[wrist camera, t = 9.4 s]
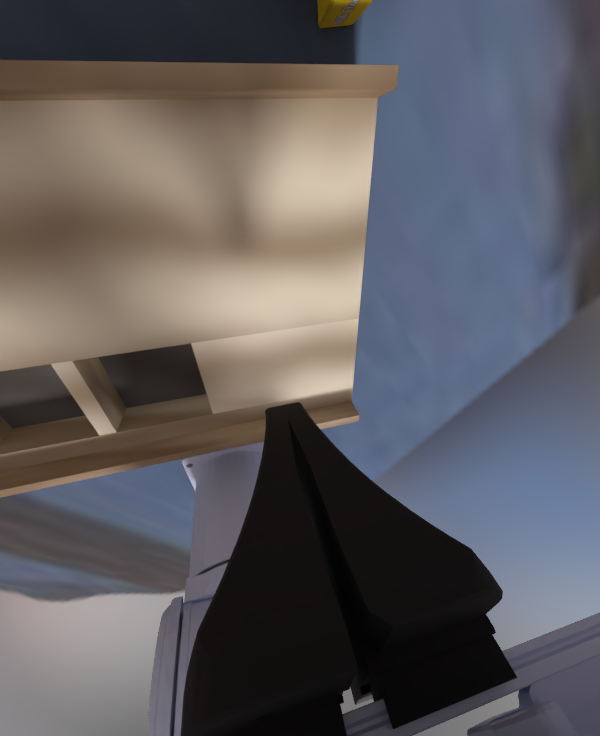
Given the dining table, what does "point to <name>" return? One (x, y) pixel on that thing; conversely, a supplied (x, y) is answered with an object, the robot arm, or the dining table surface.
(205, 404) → the box
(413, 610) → the robot arm
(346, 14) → the candy box
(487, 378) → the dining table surface
